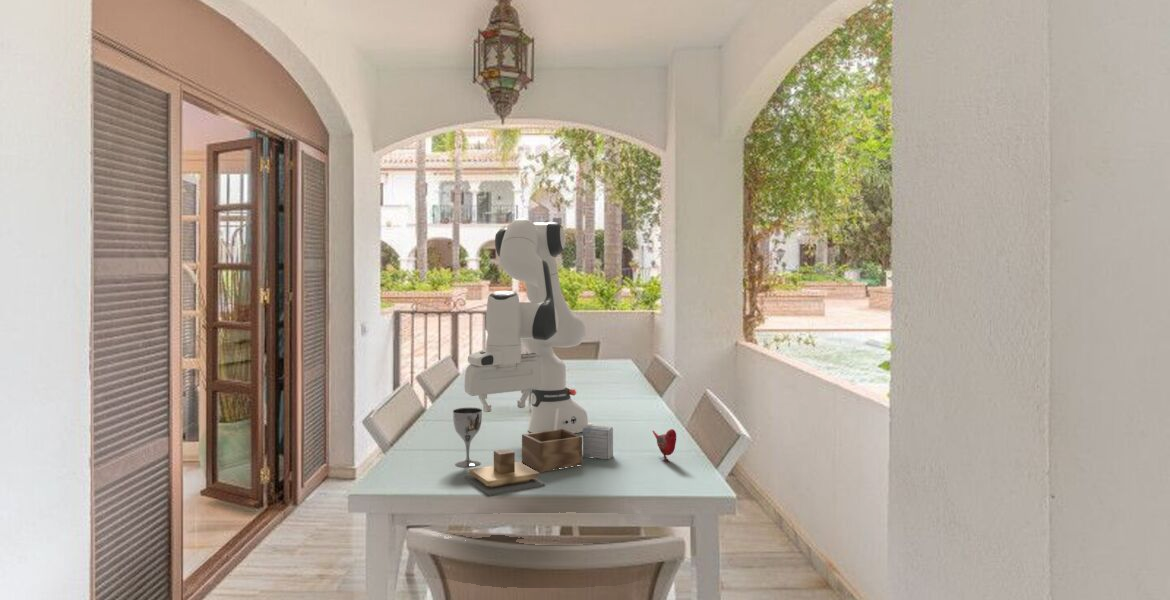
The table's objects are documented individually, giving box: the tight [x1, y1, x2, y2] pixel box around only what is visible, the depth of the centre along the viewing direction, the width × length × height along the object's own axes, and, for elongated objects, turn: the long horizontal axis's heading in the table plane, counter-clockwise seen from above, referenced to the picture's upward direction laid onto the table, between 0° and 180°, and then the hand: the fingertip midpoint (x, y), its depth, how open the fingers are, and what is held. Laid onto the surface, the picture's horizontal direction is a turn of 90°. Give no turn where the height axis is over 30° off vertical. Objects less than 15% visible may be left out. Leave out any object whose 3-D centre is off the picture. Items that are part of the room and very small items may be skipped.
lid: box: [469, 448, 540, 487], centre depth 183 cm, size 14×12×7 cm
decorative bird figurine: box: [652, 428, 677, 463], centre depth 205 cm, size 3×18×10 cm, turn 15°
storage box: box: [521, 429, 583, 473], centre depth 199 cm, size 13×11×8 cm
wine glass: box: [452, 407, 483, 469], centre depth 199 cm, size 8×8×15 cm
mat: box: [464, 474, 546, 496], centre depth 183 cm, size 15×16×1 cm
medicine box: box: [582, 424, 614, 460], centre depth 207 cm, size 8×4×9 cm, turn 71°
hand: (504, 409), depth 182 cm, fingers open, 8 cm apart
